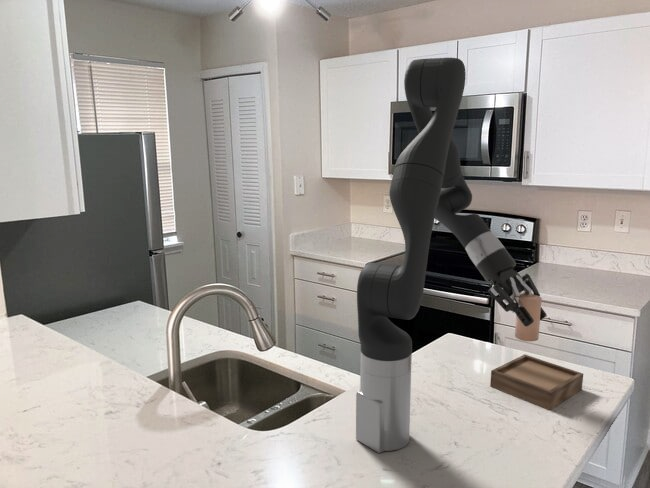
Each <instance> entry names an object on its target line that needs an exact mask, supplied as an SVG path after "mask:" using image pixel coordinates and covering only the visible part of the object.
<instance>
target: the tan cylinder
mask: <svg viewBox="0 0 650 488" xmlns="http://www.w3.org/2000/svg"><path fill="white" fill-rule="evenodd" d="M519 299H520V301H521V303H522V305H523V306H522V307H524V308H525V309H526V310H527V311H528V313H529V314H530V316H531V317H532V318H533V320H534V322H533V323H532V324H530V325H529V326H524V324H523V323H522V322H521V320H520V319H519V318H518V316H517V315H516V314H515V316H516V317H515V331H514V337H515V338H516V339H517V340H520V341H524V342H536V341H538V340H539V336H540V323H541V320H540V313H541V307H542V299H543V298H542V297H541V296H537V295H532V294H520V297H519Z"/></svg>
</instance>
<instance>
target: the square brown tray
mask: <svg viewBox="0 0 650 488" xmlns="http://www.w3.org/2000/svg"><path fill="white" fill-rule="evenodd" d="M490 371H491V372H490V385H489V387H491V388H493V389H496V390H499V391H500V392H503V393H505V394H509V395H511V396H513V397H517V398H518V399H521V400H524V401H526V402H528V403H531V404H534V405H536V406H538V407H542V408H544V409H545V410H549V411H551V410H553V409H555V408H556V407H557V406H559V405H561V404H562V403H563V402H565V401H567V400H568V399H570V398H572V397H573V396H575V395H576V394H578V393H579V392H581V391H582V390H583V383H584V382H583V381H584V373H582V372H579V371H577V370H573V369H570V368H568V367H565V366H561V365H558V364H555V363H552V362H549V361H546V360H542V359H540V358H536V357H534V356H530V355H528V354H522V355H521V356H519V357H516V358H515V359H512V360H510V361H508V362H506V363H504V364H502V365H500V366H498V367H495V368H493V369H492V370H490Z"/></svg>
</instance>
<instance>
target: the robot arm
mask: <svg viewBox="0 0 650 488" xmlns="http://www.w3.org/2000/svg"><path fill="white" fill-rule="evenodd" d="M466 72H467V71H466V66H465V64H464V62H463V60H462V59H460V58H458V57H436V58H435V57H434V58H432V57H431V58H417V59H412V61H410V62H409V64H407V66H406V69H405V72H404V80H403V81H404V85H403V87H404V93H405V99H406V102H407V105H408V108H409V111H410V113H411V116H412V119H413V122H414V125H415V127H416V130H417V133H418V135H416V136H415V138H413V139H412V141H411V142H410V143H409V144H408V145H407V146H406V147H405V148H404V149H403V151H402V152H401V153H400V155H399V156H398V158H397V159H396V162H395V165H394V167H393V169H394V170H393V173H392V178H391V181H390V186H389V193H388V194H389V200H390V204H391V206H392V209H393V212H394V214H395V217H396V219H397V222H398V224H399V226H400V228H401V231H402V235H403V238H404V245H405V246H404V247H405V248H404V251H405V252H404V259H403V263H402V265H399V264H398V265H397V264H392V263H391V264H389V263H382V262H368V263H367V264H365V265H364V266H363V268H361V271H360V273H359V276H358V280H357V284H356V285H357V286H356V303H357V304H356V306H357V307H356V308H357V325H358V326H357V327H358V328H357V329H358V339H359V343H360V369H359V372H360V377H359V381H360V382H359V385H360V386H359V390H358V391H356V394H355V398H356V399H355V402H356V403H355V440H356V441H358V442H360V443H362V444H363V445H365V446H366V447H368V448H369V449H372V451H375V452H376V453H378V454H380V453H383V452H390V451H397V450H400V449H403V448H404V447H406V446H407V445H408V443H409V442H410V433H411V432H410V428H411V425H410V424H411V394H412V393H411V392H412V391H411V390H412V389H411V388H412V387H411V386H412V357H413V354H412V353H413V341H412V338H411V336H410V335H409V333H407V332H406V331H404V329H402V328H400V327H398V326H397V325H396V324H394V323H393V322H392V321H391V320H390V319H389V318H392V319H393V318H394V319H398V320H406V321H407V320H408V321H409V320H410V321H411V320H412V319H413V318H415V317H416V316H417V313H418V312H419V310H420V307H421V304H422V300H423V295H424V289H425V283H426V275H427V267H428V260H429V259H428V258H429V253H430V252H429V251H430V243H431V238H432V233H433V226H434V222H435V220H437V221H438V222H439V223H440V224H441V225H443V226H444V227H445V228H446V229H448V230H449V231H450V232H451V233H452V234H453V235H454V236H455V237H456V239H457V240H458V241H459V242H460V244H461V245H462V246H463V248H464V250H465V251H466V253H467V255H468V257H469V260H471V262H472V263H473V264H474V266H475V268H476V269H477V270H478V272H479V273H480V274H481V277H483V278H484V280H485V281H486V282H487V283H492V284H493V286H492V287H490V288H489V289H488V290H487V292H488V294H489V295H490V297H492V298H493V299H494V301H496V303H497V304H499V306H500V307H501V308H502V309H503V310H504V311H505V312H507V313H508V312H512V313H514V314H515V316H516V315H517V316H518V318H519V319H520V320H521V322H522V323H523V324H524V326H529V325H530V324H532V323H533V322H534V320H533V318H532V317H531V316H530V314H529V313H528V311H527V310H526V309H525V308H524V307H522V306H523V305H522V303H521V301H520V299H519V297H520V294H532V295H537V296H539V297H541V294H540V293H539V290H538V288H537V286H536V284H535V283H534V281H533V279H532V278H531V275H530V274H528V273H525V274H524V275H521V274H519V273H518V272H517V270H515V267H516V265H517V263H516V261H515V259H514V258H513V256H512V255H511V254H510V253H509V252H508V250H507V249H506V247H505V246H504V245H503V244H502V242H501V241H500V240H499V238H498V237H497V236H496V235H495V234H494V233H493V232H492V231H491V229H490V228H489V226H488V225H487V224H486V222H485V221H484V219H482V217H481V216H480V215H479V214H477V213H472V214H471V213H470V214H467V215H466V214H465V215H458V213H460V212H462V211H463V210H465V209H467V208H469V206H470V205H471V203H472V201H473V194H472V191H471V189H470V187H469V185H468V184H467V182H466V179H465V177H464V176H463V173H462V168H461V167H462V166H461V157H460V152H459V149H458V145H456V142H455V141H454V139H453V138H452V135H453V131H454V128H455V124H456V120H457V117H458V114H459V111H460V110H459V109H460V106H461V103H462V99H463V95H464V91H465V85H466V78H467V77H466ZM431 108H435V110H434V113H433V112H432V109H431ZM547 316H548V315H547V313H546V311H545V310H544V309H543V307H542V306H541V313H540V321H541V320H543V319H545V318H547Z"/></svg>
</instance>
